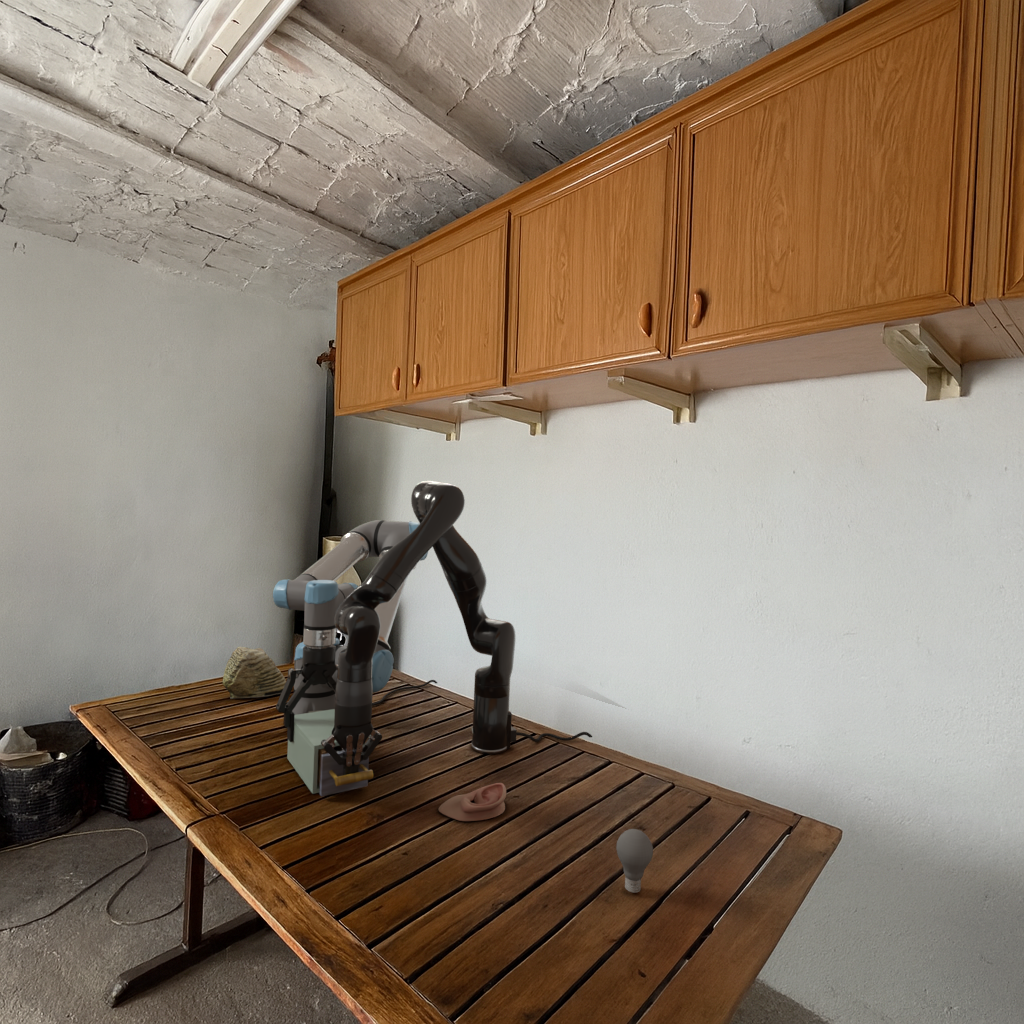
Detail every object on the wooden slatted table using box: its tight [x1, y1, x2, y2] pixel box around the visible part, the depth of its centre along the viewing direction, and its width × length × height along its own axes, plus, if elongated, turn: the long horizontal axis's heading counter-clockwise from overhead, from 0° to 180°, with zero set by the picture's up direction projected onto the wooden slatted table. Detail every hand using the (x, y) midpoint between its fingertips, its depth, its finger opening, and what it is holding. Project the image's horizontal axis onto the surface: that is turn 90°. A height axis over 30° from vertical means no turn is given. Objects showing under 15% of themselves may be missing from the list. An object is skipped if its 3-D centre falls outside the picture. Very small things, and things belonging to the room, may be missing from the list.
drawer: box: [317, 746, 374, 797], centre depth 140 cm, size 26×10×8 cm, turn 34°
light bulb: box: [615, 828, 654, 894], centre depth 106 cm, size 6×6×10 cm
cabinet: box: [286, 709, 366, 795], centre depth 147 cm, size 21×11×10 cm, turn 34°
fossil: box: [222, 646, 287, 699], centre depth 198 cm, size 9×18×15 cm, turn 132°
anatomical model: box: [438, 782, 507, 822], centre depth 131 cm, size 13×4×12 cm
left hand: (316, 735), depth 152 cm, fingers closed on cabinet, 11 cm apart
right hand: (350, 781), depth 132 cm, fingers closed
